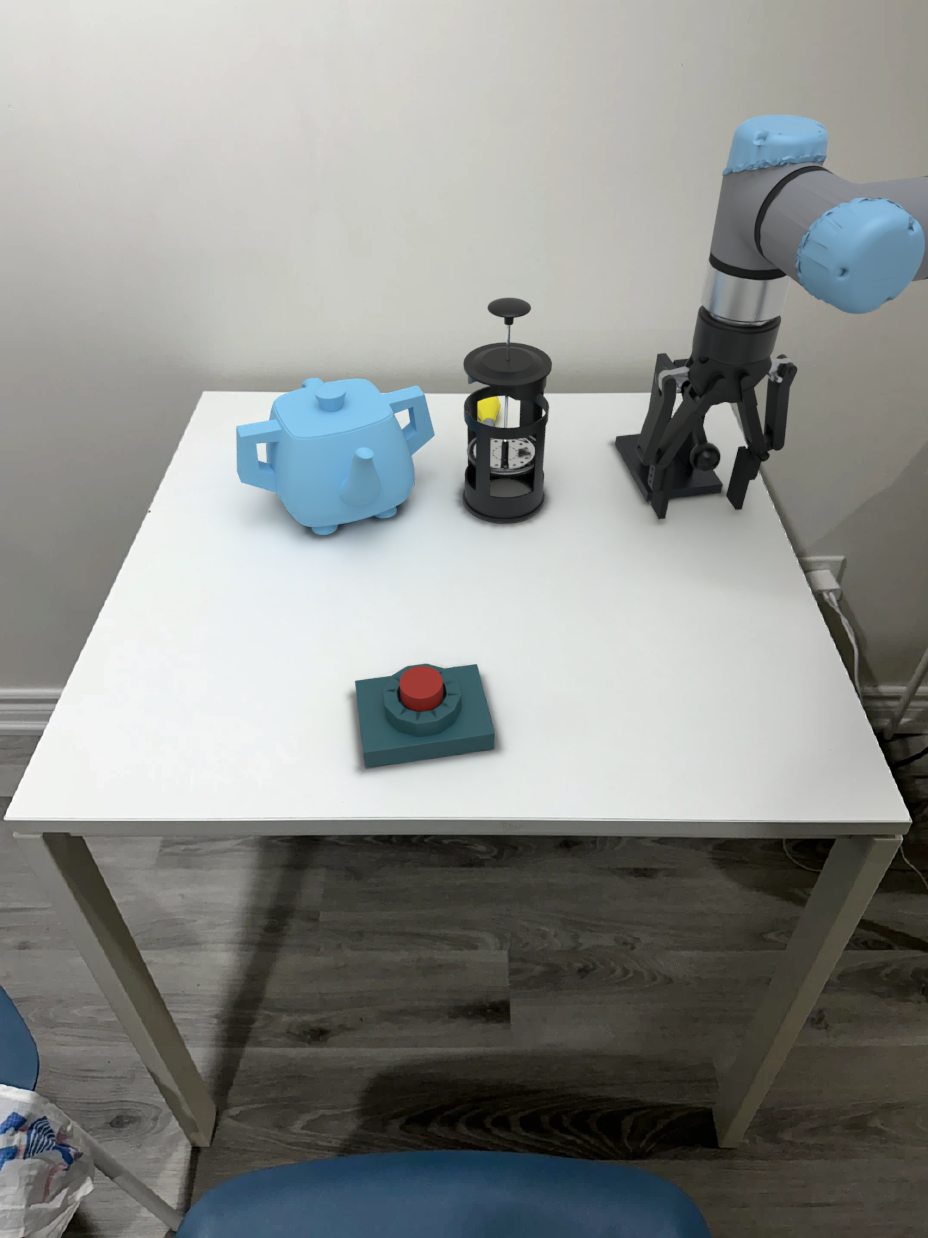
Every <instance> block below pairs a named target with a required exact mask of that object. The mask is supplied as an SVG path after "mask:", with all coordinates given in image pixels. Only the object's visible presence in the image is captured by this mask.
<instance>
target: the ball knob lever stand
mask: <svg viewBox="0 0 928 1238" xmlns="http://www.w3.org/2000/svg"><path fill="white" fill-rule="evenodd" d="M673 362H674V361H672V360H671V358H670V357H669V354H667V353H666V352H661V353H657V354H656V361H655V365H654V373H653V379H652V383H651V390H650V398H649V402H648V404H649V405H648V408H647V411H648V410H649V407H650V404H651V401H652V399H653V396H654V393H655V390H656V371H657V369H658V368H659V367H662V366H665V367H667V369H668V370H672V369H676V366H675V365H674V364H673ZM698 398H699V396H698ZM699 399H700V398H699ZM673 411H674V409H673V410H672V412H671V415H670V418H669V420H668V423H669V421H670V420H671V418H672V417H673ZM706 415H707V413H706V414H705V415H703V416H701V419H702V423H703V425H704V424H705V419H706ZM668 423H667V424H668ZM639 435H640V433H634V434H624V435H616V436H615V441H614V442H615V443H614V445H615V447H616V448H617V450H618V452H619V454H620V456H621V459H622V460H623V461H624V463H625V465H626V467H627V469H628V470H629V472H630V474H631V476H632V477H633V480H634V481H635V483H636V485H637V487H638V489H639V490H640V492H641V494H642V496H643V498H644V499H645V501H646V502H651V500H652V494H653V491H652V489H651V487H650V486H649V484H648V475H649V469H650V465H648V466H645V465H643V463H642V462H641V460H640V458H639V456H638V455H637V453H636V451H635V447H636V444H637V441H638V438H639ZM694 447H695V444H694V440H693V436H692V433H691V432H690V434H689V435H688V437H687V438H686V440H685V441H684V443H683V444H682V446H681V447H680V449H679V450H678V452H677V453H676V455H675V456H674V458H673V459H672V461H671V463H672V465H673V466H674V468H675V472H674V477H673V482H672V487H671V492H670V497H669V500H670V499H678V498H679V499H680V498H688V497H695V496H704V495H711V494H721V493H722V491H723V486H724V483H723V482H722V480H721V479H720V477H719V476H718V474H717V473H716V472H715V469H714V470H712V471H710V472H707V473H702V472H698V471H696V470H695V469H694V468H693V467H692V466H691V464H690V459H689V457H690V453H691V451H692V449H693V448H694Z"/></svg>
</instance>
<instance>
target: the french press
mask: <svg viewBox="0 0 928 1238" xmlns="http://www.w3.org/2000/svg"><path fill="white" fill-rule="evenodd" d="M531 310H532V306H531V304H530V303H529V302H528V301H526V300H524V299H522V298H517V297H501V298H496V299H494V300H492V301H490V302H489V303H488V304H487V311H488V313H490V314H491V315H493V316H495V317H498V318H503V323H504V325H505V326H506V341H503V342H494V343H493V342H492V343H489V344H483V345H481V346H479V347H476V348H474V349H473V350H471V351H470V352H468V353H467V354H466V356H465V357H464V359H463V363H462V364H463V370H464V373H465V374H466V375H467V383H468V384H467V385H472V384H473V383H479V384H482V385H485V386H483V387H482V388H479V389H477V390H475V391H473V392H471V393H470V394H469V395H468V396H467V397H466V399H465V400H464V403H463V419H464V422H465V425H466V426H467V427H466V428H467V446H466V447H467V448H466V455H467V466H466V467H465V470H464V489H463V492H462V500H463V505H464V507H465V508H466V510H467V511H468V512H469V513H470V514H472V515H473V516H475V517H476V518H478V519H480V520H483V521H486V522H490V523H495V524H514V523H519V522H523V521H526V520H529V519H530V518H533V517H534V516H536V515H537V514H538V513H540V511H541V510H542V509H543V506H544V504H545V500H546V499H545V498H546V495H545V490H544V486H545V472H544V461H545V446H546V431H547V430H546V429H547V424H548V422H549V414H550V405H549V401H548V399H547V398H546V397H545V396H544V395H545V389H546V388H547V377H548V376H549V375H550V374H551V372H552V369H553V361H552V359H551V357H550V355H548V354H547V353H546V352H545V350H544V351H543V350H542V349H540V348H538V347H536V346H533V345H531V344H530V345H529V344H526V343H520V342H511V327H512V325H514V320H515V319H516V318H522V317H524V316H526V315H528V314H529V313H530V312H531ZM496 396H497V397H504V418H503V420H504V421H503V423H504V424H503V427H499V426H495V427H493V426H489V425H485V424H483V423H482V422H480V421H478V420H479V417H478V401H481V400H483V399H486V398H490V397H496ZM509 398H511V399H513V400H514V401H519V422H518V426H516V427H508V424H509V423H508V421H509V419H508V417H509ZM543 411H544V412H543ZM543 413H544V414H543ZM496 480H512V481H516V482H519V483H522V484H524V485H525V486H526V487H527V488H529V489H530V491H529V492H527V493H523V494H520V495H515V496H496V495H491V481H496Z"/></svg>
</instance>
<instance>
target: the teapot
mask: <svg viewBox="0 0 928 1238" xmlns="http://www.w3.org/2000/svg"><path fill="white" fill-rule="evenodd" d="M406 410H407V412H408V417H409V423H408V424H406V425H405V426H404V427H403V428H402V427H401V425H400V422H399V420H398V419H397V417H396V414H399V413H400V412H403V411H406ZM268 419H269V420H264V421H258V422H252V423H247V424H240V425H236V426H235V429H236V430H235V436H236V439H235V440H236V473H237V475H238V478H239V481H240V483H242V484H245V485H248V486H252V487H254V488H259V489H262V490H264V491H268V492H272V493H275V494H276V495H277V496H278V498H279V500H280V502H281V503H282V505H283V506H284V508H285V509H286V510H287V511H288V513H289V514H290V515H291V517H293V519H294V520H295V521H296V522H297V523H299V524H300V525H302V526H304V527H308V528H311V530H312V532H313V533H314V534H316V535H319V536H326V535H327V536H328V535H331V534H333V533H335V532H336V531H337V530H338V526H339V525H342V524H349V523H354V522H356V521H360V520H364V519H367V518H372V517H376V518H378V519H388V518H392V517H394V516H395V515H396V514H397V512H398V508H397V506H400V505H401V504H402V503H404V502H405V501H406V500H407V499H408V497H409V495H410V494H411V492H412V490H413V487H414V485H415V481H416V477H415V476H416V475H415V466H414V460H413V455H414V454H416V453H417V452H418V451H419V450H420V449H421V448H422V447H423V446H425V445H426V444H427V443H428V442H429V441H430V440H432V439H433V438H434V437H435V431H434V426H433V422H432V418H431V414H430V409H429V406H428V401H427V398H426V394H425V392H423V389H421V388H420V386H419V385H413V386H409V387H405V388H402V389H401V388H400V389H398V390H394V391H390V392H385V393H382V392H381V391H380V390H379V388H378V387H376V385H375V384H374V383H372V382H371V381H370V380H368V379H365V378H346V379H345V378H344V379H337V380H331V381H326V382H324V381H323V380H322V379H321V378H320V377H315V376H314V377H309V378H306V379H305V380H303V381H302V383H301V387H300V388H298V389H295V390H291V391H288V392H285V393H284V394H281V395H279V396H277V397H276V398H275V399H274V400H273V401H272V405H271V408H270V414H269V418H268ZM258 444H265V456H266V462H265V461H261V460H259V454H258V447H257V446H258Z"/></svg>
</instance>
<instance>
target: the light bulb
mask: <svg viewBox="0 0 928 1238" xmlns="http://www.w3.org/2000/svg"><path fill="white" fill-rule="evenodd" d="M501 405H502V404H501V402H500V399H499V396H496V397H490V398H486V399H483V400H481V401H478V419H479V420H480V421H481V423H483V424H485V425H489V426H493V427H496V425H495V423H496V421H497V416H498V415H499V412H500V411H501V407H502V406H501Z"/></svg>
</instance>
